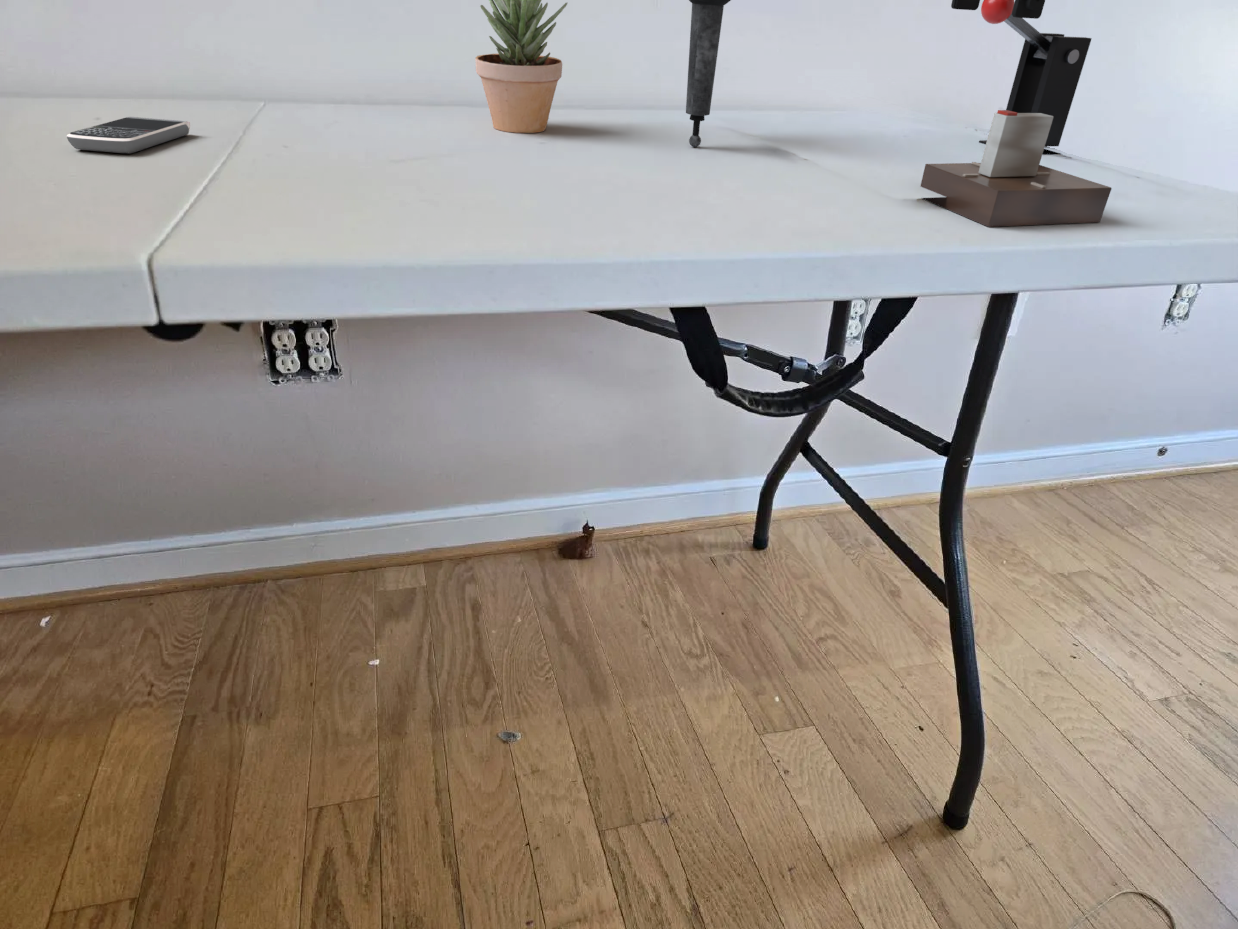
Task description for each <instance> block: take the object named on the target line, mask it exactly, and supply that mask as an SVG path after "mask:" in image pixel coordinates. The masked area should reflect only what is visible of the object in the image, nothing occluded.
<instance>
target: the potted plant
mask: <svg viewBox="0 0 1238 929" xmlns="http://www.w3.org/2000/svg"><path fill="white" fill-rule="evenodd" d="M488 2H489V4H490V7H491V8H492V13H491V12H490V11H489V10H488V9H487V8H486V7H485V6H484V4H479V5H480V6H479V7H480V9H481V10H482V12H483V13H484V15H485V16H486V18H487V22H488V23H489V25H490V26H491V27H492V29H493V30H494V32H495V33H496V35H497V36H498V37H499V39H500V40H501V41H502V42H503V44H504V45H505V46H503V45H502V44H500V43H499V42H498V41H497V40H496V39H495V38H493V36H491V35H488V38H489V39H490V41H491V42H492V43H493V44H494V46H495V49H496V51H497V53H487V54H479V55H477V56H476V57H475V71H476V75H478V77H479V78H480V80H481V84H482V87H483V92H484V94H485V98H486V102H487V106H488V109H489V114H490V117H491V121H492V122H491V123H492V126H493V128H494V129H495V130H497V131H500V132H501V131H502V132H506V133H507V132H508V133H516V134H518V133H519V134H535V133H536V134H537V133H540V132H541V133H542V132H544V131H545V130H546V128H547V125H548V121H549V117H550V112H551V108H552V104H553V100H554V97H555V93H556V89H557V86H558V82H559V80H560V79H561V78H562V75H563V74H562V73H563V61H562V59H559V58H557V57H553V56H550V55H551V51H549V52H548V53H547V54H546V55H542V54H543V53H544V51H545V49H546V48H547V46H548V41H546V40H547V39H548V38H549V36H550V35H551V34H552V32H553V31H554V28H555V27H556V26H557V21H555V19H556V18H558V16H559V15H560V14H561V13H563V10H564V9H565V8H566V7H567V6H568V2H565V3H564V4H562V6H561V7H560V8H559V9H558V10H557V11H555V12H554V13H553V14H552V15H551V16H550V17H548V18H547V20H546V21H544V22H543V23H542V24H540V22H541V20H542V18H543V17H544V15H545V13H546V11H547V8H548V5H549V3H548V2H546V3H545V4H544V5H543V2H542V0H488ZM554 21H555V22H554ZM552 22H554V23H552ZM551 23H552V24H551ZM539 24H540V25H539ZM550 24H551V25H550ZM538 25H539V26H538ZM549 25H550V26H549ZM548 26H549V27H548ZM547 27H548V28H547ZM546 28H547V29H546ZM545 29H546V30H545ZM543 31H544V32H543Z"/></svg>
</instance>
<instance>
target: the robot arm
mask: <svg viewBox="0 0 1238 929" xmlns="http://www.w3.org/2000/svg"><path fill="white" fill-rule="evenodd" d="M980 3H981V0H951V6H950V7H951V9H953V10H961V11H963V10H965V11H976V10H978V9H979V6H980ZM1045 3H1046V0H1014V6H1013V10H1012V16H1013V17H1017V18H1023V19H1036V20H1037V19H1040V18H1041V16H1042V13H1043V9H1044V7H1045Z"/></svg>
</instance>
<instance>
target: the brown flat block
mask: <svg viewBox="0 0 1238 929" xmlns="http://www.w3.org/2000/svg"><path fill="white" fill-rule="evenodd" d="M980 165H981V162H976V161H972V162H963V163H962V162H957V163H955V162H953V163H952V162H951V163H949V162H947V163H925V165H924V168H923V173H922V176H921V182H920V188H923V189H926V190H928V191H931V192H933V193H936V194H938V195H940V196H939V197H921V199H922V200H923V201H927V202H929V203H931V204H933V205H936V206H939V207H941V208H943V209H945V210H948V211H950V212H953V213H955V214H957V215H959V216H962V217H964V218H967V219H968V220H972V221H974V222H976V223H978V224H980V225H983V226H985V227H987V228H994V227H1017V226H1018V227H1019V226H1022V227H1023V226H1040V225H1041V226H1042V225H1043V226H1045V225H1066V224H1087V223H1090V224H1091V223H1100V222H1101V221H1102V218H1103V215H1104V213H1105V209H1106V206H1107V203H1108V200H1109V197H1110V194H1111V192H1112V189H1113V188H1112V187H1110V186H1108V185H1105V184H1102V183H1098V182H1095V181H1092V180H1090V179H1086V178H1083V177H1080V176H1076V175H1073V174H1071V173H1070V174H1069V173H1067V172H1064V171H1060V170H1057V169H1054V168H1051V167H1048V166H1045V165H1041V164H1039V167H1038V170H1037V174H1036V176H1024V177H988V176H985V175H982V174H979V173H978V172H979V169H980ZM941 196H942V197H941Z"/></svg>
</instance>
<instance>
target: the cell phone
mask: <svg viewBox="0 0 1238 929" xmlns="http://www.w3.org/2000/svg"><path fill="white" fill-rule="evenodd" d="M190 130H191V122H190V121H188V120H175V119H165V118H163V119H162V118H153V117H152V118H150V117H138V116H126V117H123V118H119V119H115V120H112V121H108V122H104V123H101V124H100V123H99V124H97V125H93V126H89V127H85V128H82V129H77V130H75V131H72V132H69V133H68V134H66V139H67V141H68V143H69V144H70V145H71V146H72V147H73V148H74V149H76V150H82V151H91V152H103V153H104V152H105V153H116V154H129V155H130V154H133V153H134V154H135V153H137V152H139V151H143V150H146V149H149V148H152V147H155V146H157V145H160V144H164V143H166V142H170V141H173V140H176V139H179V138H182V137H185V136H187V135H189V133H190Z"/></svg>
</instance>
